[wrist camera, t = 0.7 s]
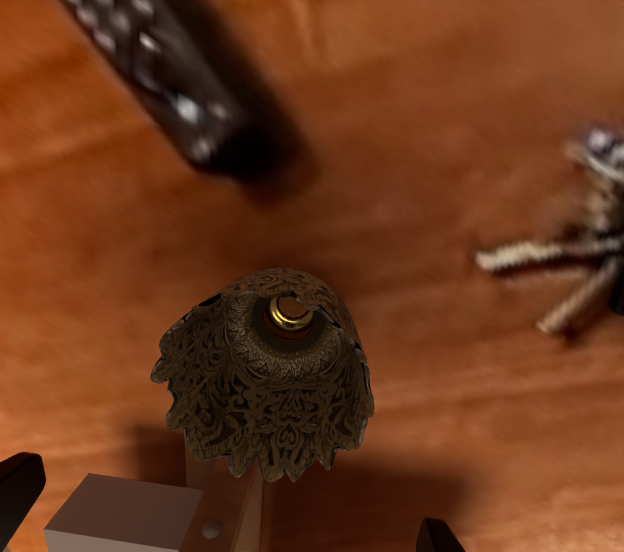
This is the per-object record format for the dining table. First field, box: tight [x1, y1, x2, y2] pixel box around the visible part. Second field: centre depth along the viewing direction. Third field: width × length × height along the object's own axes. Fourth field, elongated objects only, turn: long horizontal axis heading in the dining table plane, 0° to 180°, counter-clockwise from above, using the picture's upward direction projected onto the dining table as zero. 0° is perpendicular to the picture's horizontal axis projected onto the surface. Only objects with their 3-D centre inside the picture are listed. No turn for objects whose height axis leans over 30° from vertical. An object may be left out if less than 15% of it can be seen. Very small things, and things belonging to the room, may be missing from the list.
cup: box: [150, 268, 374, 482], centre depth 15 cm, size 8×7×8 cm
